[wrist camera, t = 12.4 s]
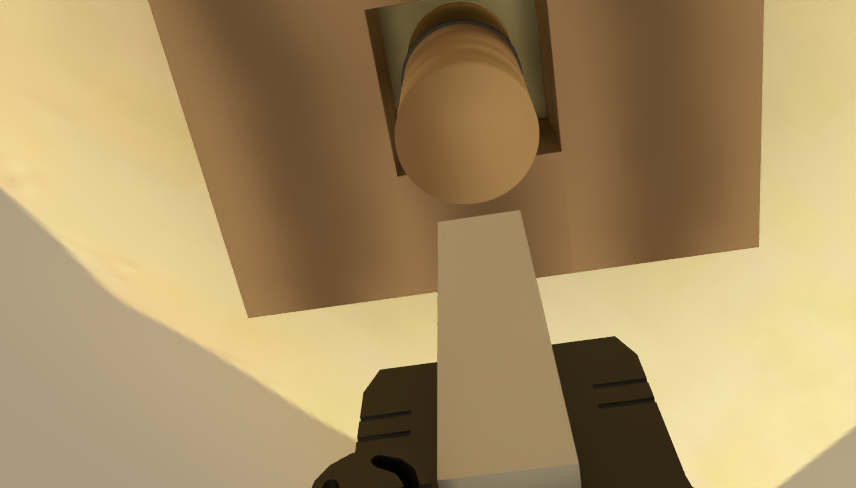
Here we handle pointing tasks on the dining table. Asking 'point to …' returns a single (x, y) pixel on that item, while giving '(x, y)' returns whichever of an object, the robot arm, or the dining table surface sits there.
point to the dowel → (464, 108)
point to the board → (420, 212)
